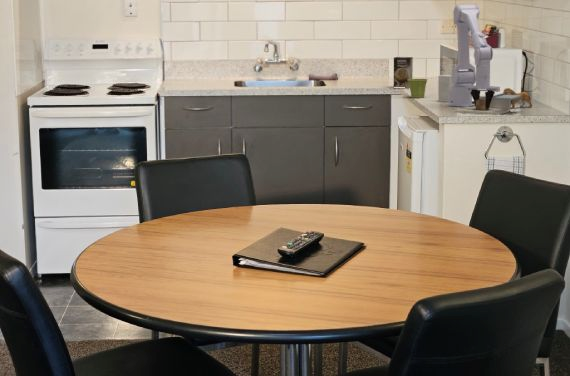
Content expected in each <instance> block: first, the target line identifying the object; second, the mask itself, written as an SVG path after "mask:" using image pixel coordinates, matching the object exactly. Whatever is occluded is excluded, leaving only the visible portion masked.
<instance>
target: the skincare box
mask: <svg viewBox="0 0 570 376" xmlns="http://www.w3.org/2000/svg"><path fill="white" fill-rule="evenodd" d="M451 76H452V74H440V75H438V79H437V80H438V82H437V83H438V85H437V87H438V92H437V94H438V98H437V99H438V102H442V103H449V92H450V88H451V86H454V84H453V83H452V80H451Z"/></svg>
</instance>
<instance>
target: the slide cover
mask: <svg viewBox="0 0 570 376" xmlns="http://www.w3.org/2000/svg"><path fill="white" fill-rule="evenodd" d="M517 98H521V95H505V93H503V92H502V93H499V94H494V96H493V99H496V100H514V99H517Z"/></svg>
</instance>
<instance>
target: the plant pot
mask: <svg viewBox="0 0 570 376" xmlns="http://www.w3.org/2000/svg"><path fill="white" fill-rule="evenodd" d="M408 81H409V84H410V96H411V98H413V99H416V98H417V99H422V98H425V93H426V87H427V83H428V78H412V79H408Z"/></svg>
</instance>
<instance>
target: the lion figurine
mask: <svg viewBox="0 0 570 376" xmlns="http://www.w3.org/2000/svg"><path fill="white" fill-rule="evenodd" d="M502 93H505V95H521V98H517V99H514V100H511V103H510V110H512V109H513V110H515V107H516V106H515V103H516V102H522V104H521V105H520V106H519V107H520V108H524V106H525V105H526V103H528V104H529V105H528V108H529V107H531V108H532V107H533V105H532V99H531V95H530V94H529V93H528V92H526V91H522V92H515V91H514V90H513V89H511V88H509V87H506V88H504V89H503V92H502Z"/></svg>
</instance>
